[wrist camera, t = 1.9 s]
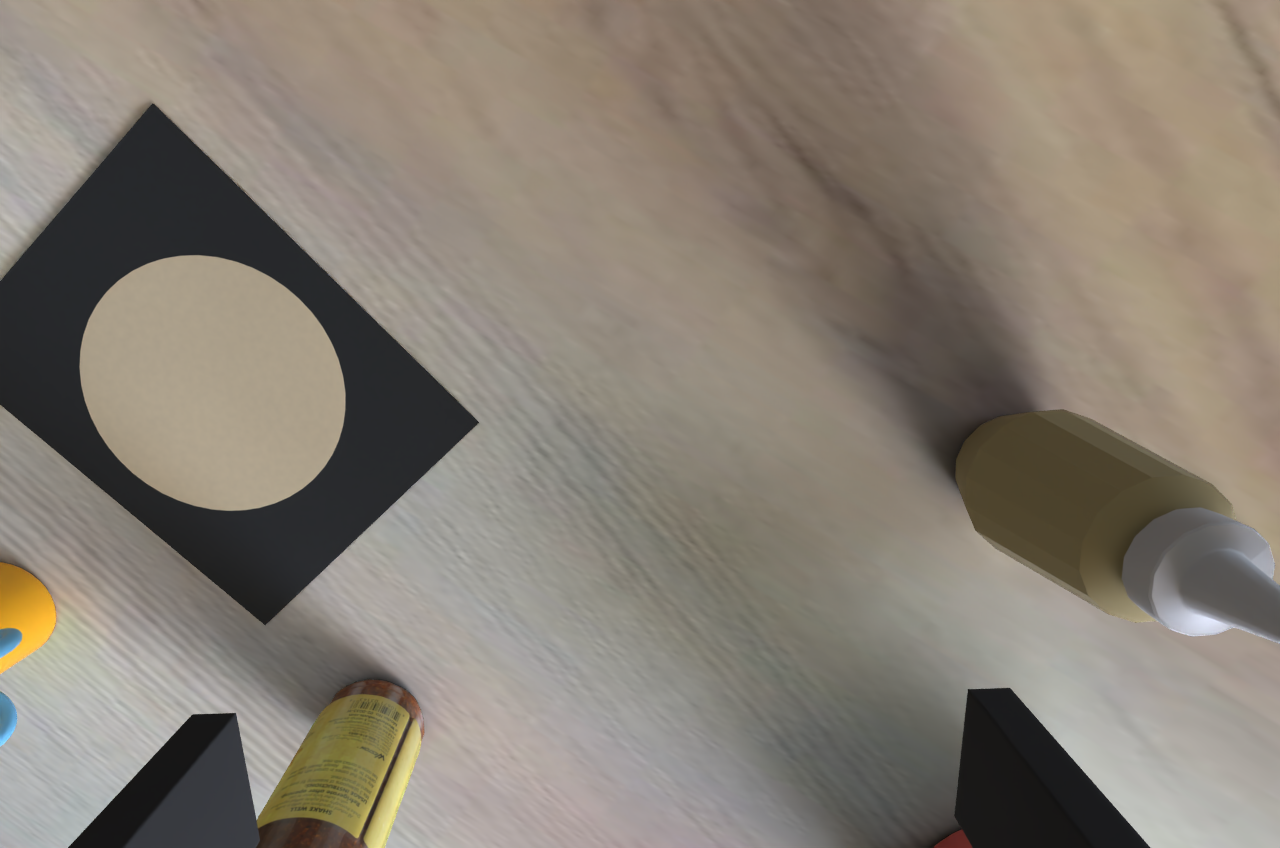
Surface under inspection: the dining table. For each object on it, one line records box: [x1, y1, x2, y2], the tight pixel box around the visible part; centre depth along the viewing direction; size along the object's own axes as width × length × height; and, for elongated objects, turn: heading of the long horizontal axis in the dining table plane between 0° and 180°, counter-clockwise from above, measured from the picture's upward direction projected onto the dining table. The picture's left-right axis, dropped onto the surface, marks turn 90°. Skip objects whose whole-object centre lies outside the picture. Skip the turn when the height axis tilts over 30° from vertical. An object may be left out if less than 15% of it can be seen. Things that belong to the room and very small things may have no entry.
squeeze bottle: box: [955, 410, 1280, 644], centre depth 30 cm, size 8×8×18 cm
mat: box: [0, 104, 479, 625], centre depth 37 cm, size 22×18×1 cm
